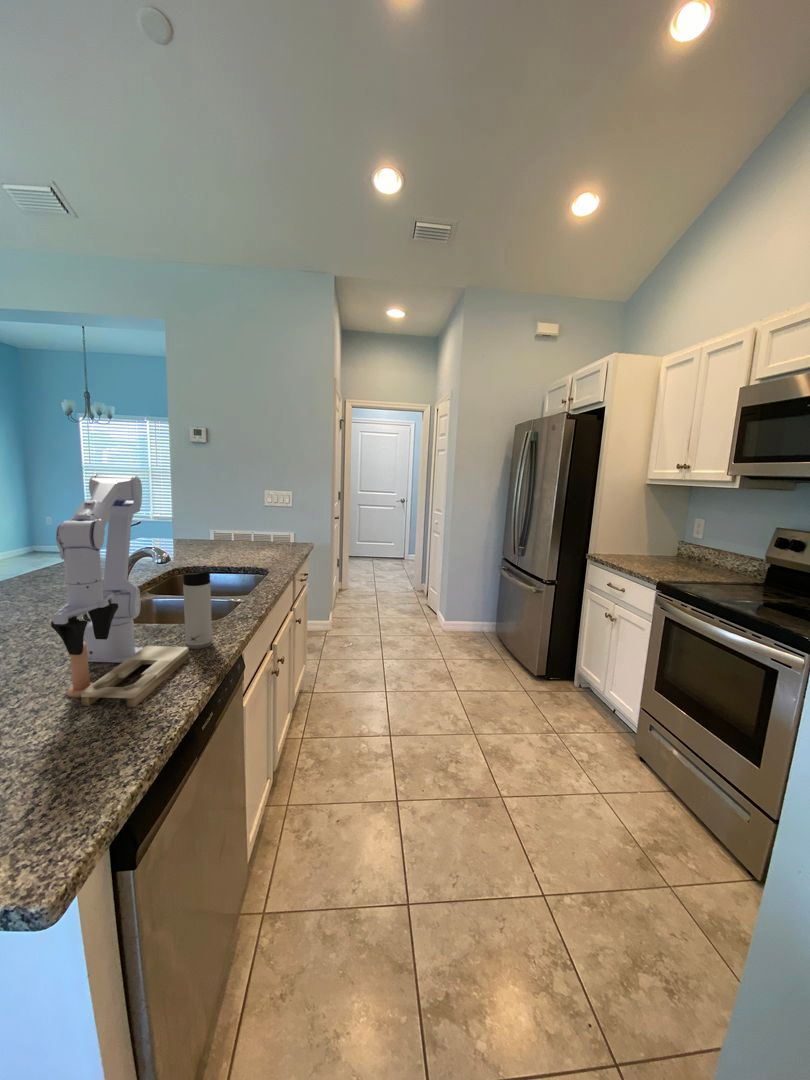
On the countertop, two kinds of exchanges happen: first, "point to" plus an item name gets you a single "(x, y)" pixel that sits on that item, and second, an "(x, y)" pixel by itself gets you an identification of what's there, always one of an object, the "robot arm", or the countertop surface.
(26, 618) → the countertop surface
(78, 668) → the terracotta peg
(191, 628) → the travel mug
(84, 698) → the keyhole plate
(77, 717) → the countertop surface
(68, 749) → the countertop surface
